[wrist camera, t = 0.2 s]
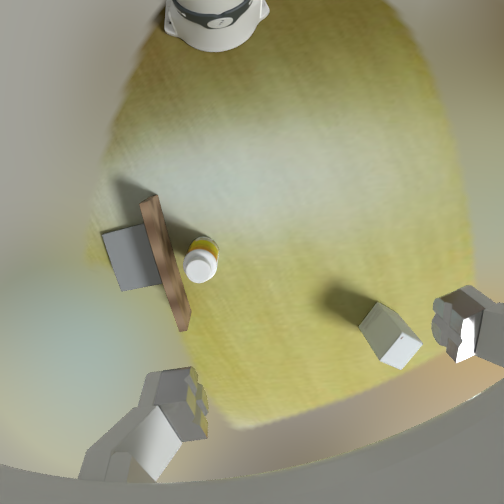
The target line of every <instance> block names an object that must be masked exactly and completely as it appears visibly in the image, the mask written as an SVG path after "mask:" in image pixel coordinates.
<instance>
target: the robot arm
mask: <svg viewBox="0 0 504 504" xmlns="http://www.w3.org/2000/svg"><path fill="white" fill-rule="evenodd" d="M268 14H269V7H268V5H267V3H266V2H265V0H166V11H165V24H164V29H165V32H166V33H167V34H169V35H171V36H175V37H179V38H181V39H182V40H184V41H185V42H186V43H187V44H189V45H190V46H192V47H194V48H196V49H199V50H202V51H208V52H220V51H226V50H230V49H233V48H235V47H237V46H239V45H241V44H242V43H244V42H245V41H246V40H247V39H248V38H249V37H250V36H251V35H252V33H253V32H254V30H255V28H256V26H257V24H258V23H259V22H260V21H261V20H263V19H264V18H265V17H266V16H267V15H268ZM170 22H171V23H172V24H169V23H170ZM433 310H434V312H435V313H436V314H435V316H434V318H433V320H432V332H433V336H434V338H435V340H436V341H437V342H438V344H439V345H442V346H445V347H446V352H447V354H448V355H449V356H450V357H451V358H452V359H453V360H454V361H455V362H456V363H457V362H459V361H462V360H463V359H466V358H468V357H470V356H472V355H474V354H475V356H478V357H480V358H483V359H485V360H487V361H490V362H492V363H494V364H497V365H499V366H502V367H504V303H500V302H499V303H497V304H496V303H495V302H493V301H492V300H491V299H489V298H488V297H487V296H485V295H484V294H482V293H481V292H480V291H478V290H477V289H475V288H474V287H473V286H471V285H466V286H464V287H462V288H459V289H457V290H456V291H453V292H451V293H449V294H446V295H444V296H441V297H439V298H436V299H435V300H434V303H433ZM207 413H208V400H207V395H206V392H205V390H204V387H203V385H201V384H199V383H198V374H197V372H196V370H195V368H194V367H192V366H191V367H184V368H178V369H171V370H163V371H157V372H151V373H148V374H147V376H146V379H145V382H144V386H143V389H142V393H141V396H140V400H139V404H138V407H135V408H133V409H132V410H131V411H130V412H129V413H127V414H126V415H125V416H124V417H123V418H122V419H121V420H120V421H119V422H118V423H117V424H115V425H114V426H113V427H112V428H111V429H110V430H109V431H108V432H107V433H106V434H105V435H103V436H102V437H101V438H100V439H99V440H98V441H97V442H96V443H95V444H94V445H92V446H91V447H90V448H89V449H88V450H87V452H86V455H85V458H84V461H83V464H82V467H81V470H80V473H79V476H78V479H73V478H65V477H59V476H52V475H47V474H41V473H36V472H30V471H26V470H22V469H17V468H13V467H10V466H6V465H3V464H0V504H504V378H503V379H501V380H500V381H498V382H497V383H495V384H494V385H492V386H490V387H489V388H487V389H486V390H484V391H482V392H481V393H479V394H477V395H475V396H474V397H472V398H470V399H468V400H467V401H465V402H463V403H461V404H459V405H458V406H456V407H454V408H452V409H450V410H448V411H446V412H444V413H442V414H440V415H438V416H436V417H434V418H432V419H430V420H428V421H426V422H423V423H422V424H419V425H417V426H415V427H412V428H410V429H408V430H405V431H403V432H401V433H398V434H396V435H393V436H391V437H388V438H386V439H383V440H380V441H378V442H375V443H372V444H369V445H366V446H364V447H361V448H358V449H355V450H352V451H349V452H346V453H342V454H339V455H336V456H332V457H329V458H325V459H322V460H318V461H314V462H310V463H306V464H302V465H298V466H294V467H289V468H285V469H280V470H275V471H270V472H265V473H259V474H253V475H246V476H240V477H233V478H225V479H217V480H206V481H193V482H176V483H157V482H156V480H157V479H158V477H159V476H160V474H161V473H162V472H163V470H164V469H165V468H166V466H167V465H168V463H169V462H170V460H171V459H172V458H173V456H174V455H175V453H176V452H177V450H178V449H179V447H180V446H181V445H182V442H186V441H194V440H200V439H207V438H208V422H207V420H206V418H205V416H206V415H207Z"/></svg>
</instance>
